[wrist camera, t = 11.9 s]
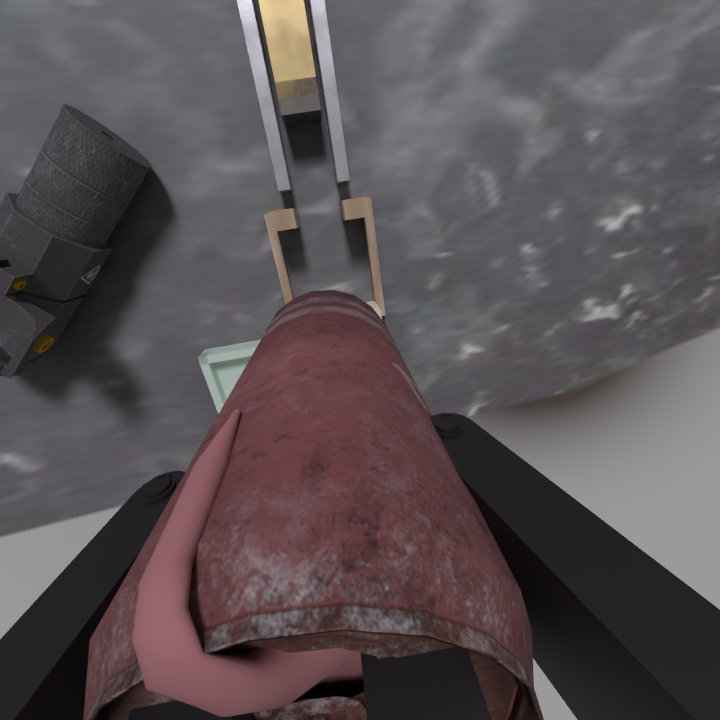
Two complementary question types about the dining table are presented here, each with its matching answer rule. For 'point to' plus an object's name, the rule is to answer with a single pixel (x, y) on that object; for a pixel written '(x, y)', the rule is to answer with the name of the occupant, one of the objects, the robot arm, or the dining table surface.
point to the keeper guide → (266, 94)
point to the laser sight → (60, 233)
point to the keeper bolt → (291, 60)
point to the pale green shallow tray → (225, 368)
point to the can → (312, 545)
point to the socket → (348, 211)
